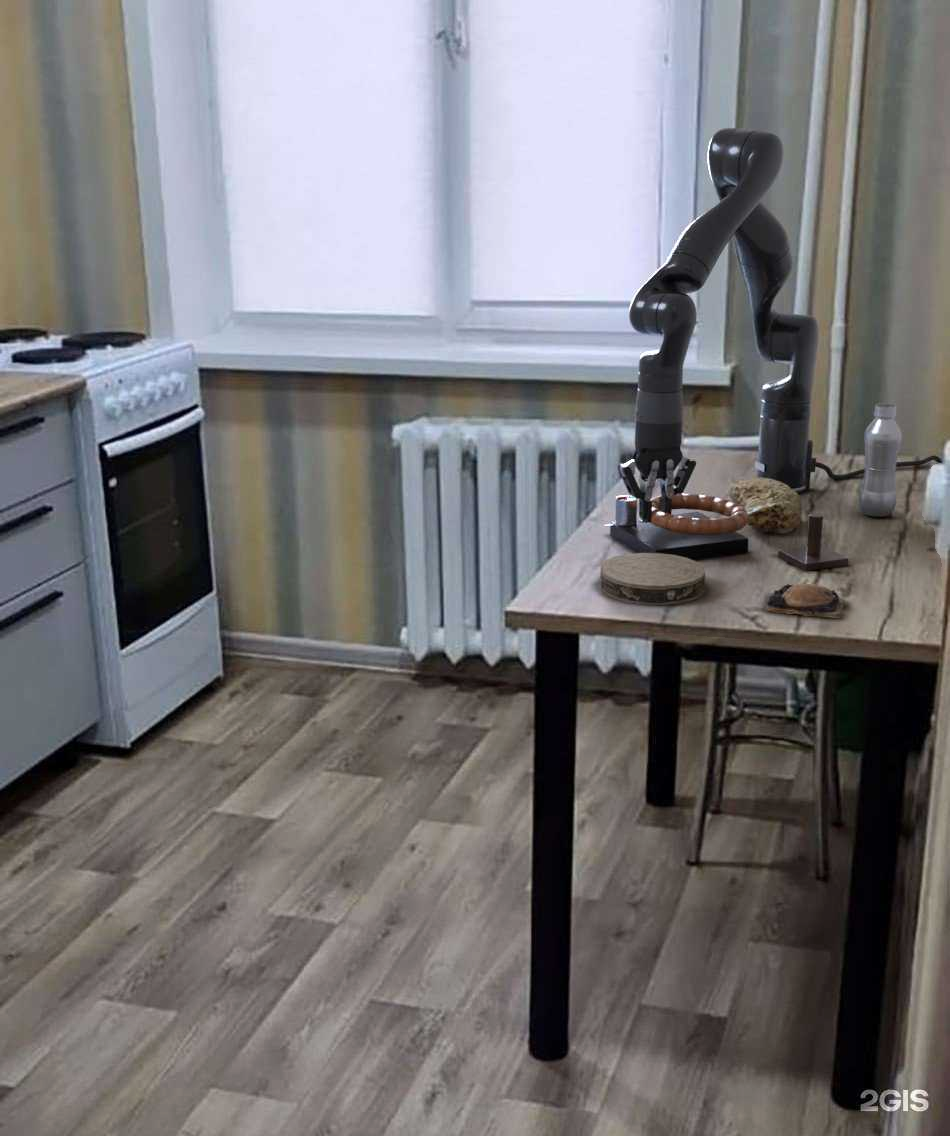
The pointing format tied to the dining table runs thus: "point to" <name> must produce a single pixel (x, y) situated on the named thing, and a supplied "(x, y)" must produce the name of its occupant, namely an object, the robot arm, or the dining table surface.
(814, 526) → the peg
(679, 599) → the tan disc
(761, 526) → the sponge
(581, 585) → the dining table surface
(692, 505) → the brown segmented ring
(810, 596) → the bread roll
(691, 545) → the hob
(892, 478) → the plastic bottle
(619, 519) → the hob knob
